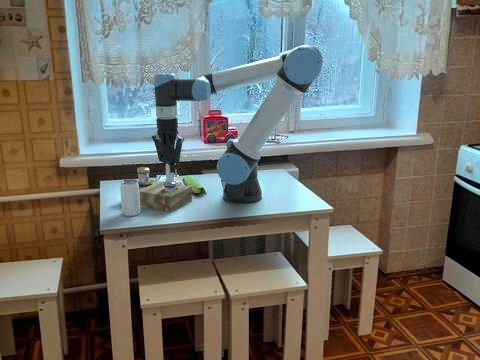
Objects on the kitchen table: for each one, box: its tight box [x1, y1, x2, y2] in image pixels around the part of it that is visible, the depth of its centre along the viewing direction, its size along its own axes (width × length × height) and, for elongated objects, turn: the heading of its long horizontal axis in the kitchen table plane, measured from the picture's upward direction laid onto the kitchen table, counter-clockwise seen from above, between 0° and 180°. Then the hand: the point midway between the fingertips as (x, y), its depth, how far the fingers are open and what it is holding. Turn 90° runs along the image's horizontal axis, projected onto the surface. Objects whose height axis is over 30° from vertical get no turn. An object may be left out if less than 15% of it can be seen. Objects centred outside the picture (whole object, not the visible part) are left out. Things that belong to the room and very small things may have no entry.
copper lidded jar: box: [136, 166, 151, 188], centre depth 194 cm, size 5×5×8 cm
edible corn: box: [181, 174, 207, 197], centre depth 206 cm, size 5×20×5 cm
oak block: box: [137, 178, 193, 213], centre depth 192 cm, size 22×14×6 cm, turn 62°
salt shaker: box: [163, 180, 177, 192], centre depth 189 cm, size 5×5×8 cm
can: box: [119, 178, 141, 217], centre depth 180 cm, size 6×6×12 cm
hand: (170, 180), depth 188 cm, fingers closed
